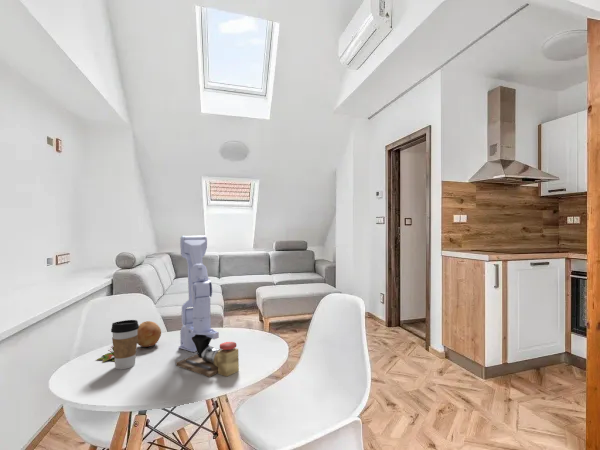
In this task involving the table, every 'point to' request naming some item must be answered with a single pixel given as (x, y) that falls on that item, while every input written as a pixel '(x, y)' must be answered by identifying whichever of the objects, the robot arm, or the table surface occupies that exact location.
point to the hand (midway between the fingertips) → (202, 356)
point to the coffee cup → (125, 343)
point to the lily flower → (107, 356)
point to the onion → (148, 334)
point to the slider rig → (215, 362)
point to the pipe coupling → (209, 354)
